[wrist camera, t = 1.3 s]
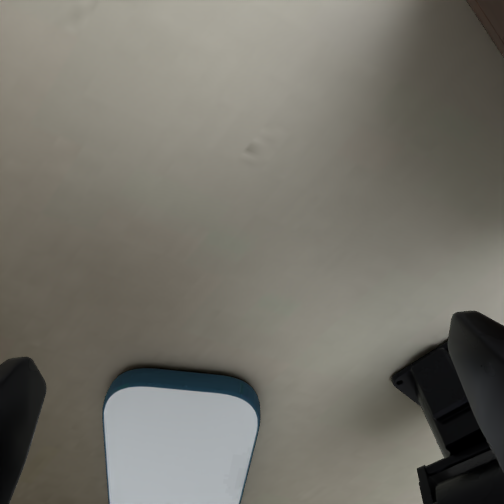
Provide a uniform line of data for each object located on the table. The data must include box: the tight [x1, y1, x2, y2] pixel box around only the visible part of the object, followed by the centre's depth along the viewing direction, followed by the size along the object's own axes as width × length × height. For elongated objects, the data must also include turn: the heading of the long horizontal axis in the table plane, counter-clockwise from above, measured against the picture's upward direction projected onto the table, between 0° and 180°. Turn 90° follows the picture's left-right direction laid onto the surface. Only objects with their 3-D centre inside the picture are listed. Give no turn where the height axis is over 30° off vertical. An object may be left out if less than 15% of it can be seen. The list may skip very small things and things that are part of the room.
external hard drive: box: [102, 368, 260, 504], centre depth 33 cm, size 24×12×2 cm, turn 172°
